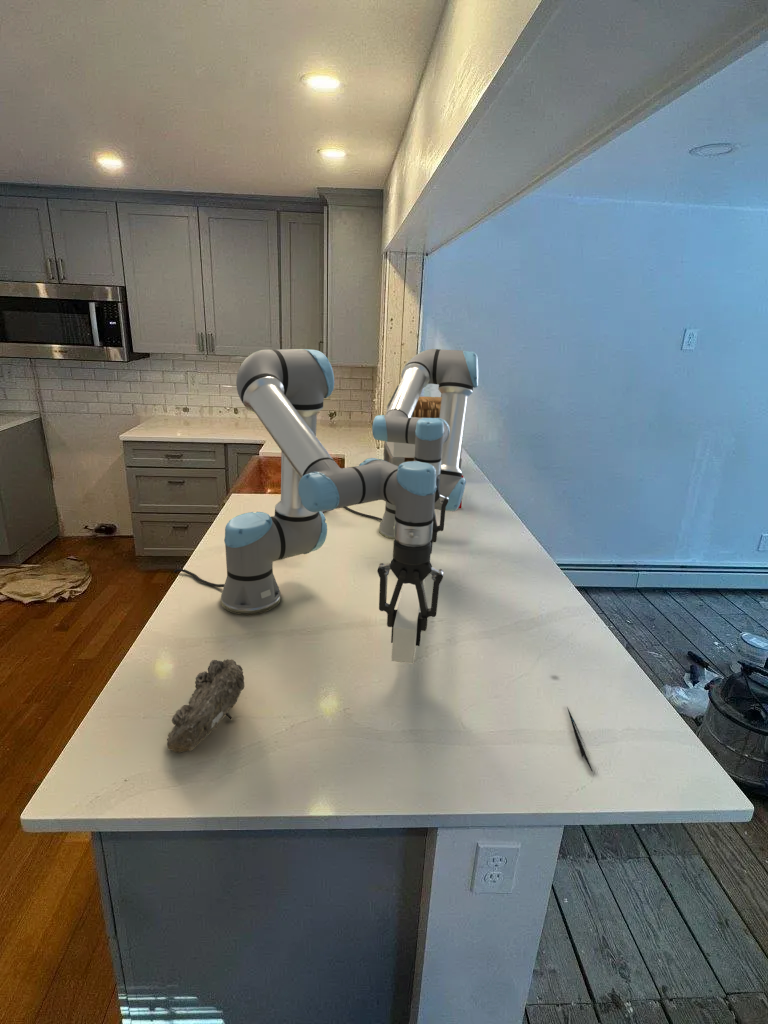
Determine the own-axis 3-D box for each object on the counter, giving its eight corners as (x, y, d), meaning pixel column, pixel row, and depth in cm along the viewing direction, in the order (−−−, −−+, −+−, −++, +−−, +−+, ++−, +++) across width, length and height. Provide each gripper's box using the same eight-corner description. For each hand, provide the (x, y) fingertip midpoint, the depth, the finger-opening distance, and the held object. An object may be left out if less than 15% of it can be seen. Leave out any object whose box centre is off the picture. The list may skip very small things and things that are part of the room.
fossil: (192, 660, 117) (244, 628, 112) (224, 691, 120) (276, 661, 115) (142, 746, 98) (202, 712, 93) (182, 779, 101) (242, 748, 96)
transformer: (382, 463, 289) (386, 382, 275) (445, 464, 293) (451, 384, 279) (390, 482, 257) (394, 392, 243) (460, 483, 261) (468, 394, 247)
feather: (555, 681, 125) (561, 675, 124) (592, 776, 98) (600, 769, 98) (549, 677, 125) (554, 671, 124) (584, 771, 98) (592, 764, 98)
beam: (415, 543, 173) (417, 519, 171) (430, 544, 173) (431, 520, 170) (391, 661, 114) (393, 627, 112) (413, 663, 114) (415, 629, 111)
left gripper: (365, 543, 110) (362, 645, 118) (456, 552, 108) (446, 656, 116) (372, 528, 117) (368, 626, 125) (457, 537, 115) (448, 636, 123)
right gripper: (393, 475, 156) (390, 553, 164) (457, 481, 154) (451, 559, 162) (397, 468, 163) (393, 543, 171) (458, 473, 161) (452, 548, 169)
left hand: (405, 640), depth 121 cm, fingers closed on beam, 4 cm apart
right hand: (421, 550), depth 166 cm, fingers closed on beam, 4 cm apart
